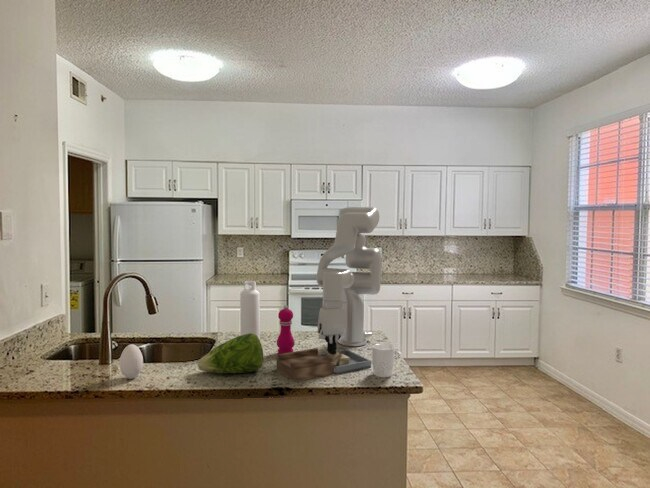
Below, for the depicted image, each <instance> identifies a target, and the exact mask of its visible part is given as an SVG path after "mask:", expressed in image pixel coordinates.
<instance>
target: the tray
mask: <svg viewBox="0 0 650 488" xmlns="http://www.w3.org/2000/svg"><path fill="white" fill-rule="evenodd" d="M336 351H337V352H339V353H340V354H344V355H346V356H348V357H349V364H345V365H341V366H339V365H337V364H336V365H334V374H335V375H340V374H344V373H349V372H354V371H359V370H364V369H368V368H372V360H371V359H368V358H366V357H364V356H362V355H360V354H357V353H356V352H354V351H352V350H349V349H342V350H336ZM318 354H319V355H321V356H323V357H326V356H327V354H328V352H324V353H318Z"/></svg>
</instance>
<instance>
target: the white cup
mask: <svg viewBox="0 0 650 488" xmlns="http://www.w3.org/2000/svg"><path fill="white" fill-rule="evenodd" d="M371 351H372V352H371V353H372V354H371V356H372V357H371V358H372V368H373V369H372V372H373V375H374V376H375V377H377V378H378V377H379V378H389V377H391V376H393V371H394V370H393V368H394V361H395V346H394V345H392V344H390V343H389V344H388V343H375V344H373V345H371Z"/></svg>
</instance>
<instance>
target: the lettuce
mask: <svg viewBox="0 0 650 488" xmlns="http://www.w3.org/2000/svg"><path fill="white" fill-rule="evenodd" d="M263 350H264V349H263V346H262V343H261V339H260V340H259V338H258V337H257V335H255V334H252V333H249V334H245V335H241V336H240V335H238V336H236V337H233V338H231V339H229V340H227V341H225V342H222V343H221V344H219V345H217V346H216V347H214V348H212V349H211V350H209V352H208V353H206V354H205V355H203V356H202V357H201V358H200V359H199V360H198V361H197V367H198V369H199V371H202V372H209V373H216V374H246V373H251V372H255V371H256V372H257V371H259V370H260V369H261V368H262V367H263V366H264V359H265V357H264V351H263Z"/></svg>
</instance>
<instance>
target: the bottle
mask: <svg viewBox="0 0 650 488" xmlns="http://www.w3.org/2000/svg"><path fill="white" fill-rule="evenodd" d="M256 285H257V283H256V281H255V280H246V281H244V285H243V288H244V290H242V291H241V292H240V294H239V295H240V298H239V299H240V301H239V303H240V304H239V305H240V311H239V313H240V315H239V316H240V317H239V318H240V330H239V331H240V332H239V333H240V335H239V336H241V335H245V334H249V333H252V334H255V335H257V337H258V338H259V340H260V341H261V338H260V337H261V336H260V335H261V333H260V332H261V330H260V328H261V327H260V326H261V325H260V324H261V322H260V319H261V317H260V316H261V315H260V311H261V310H260V307H261V306H260V305H261V302H260V301H261V298H260V297H261V293H260V292H259V291H258V290H257V289H256V288H257V286H256Z"/></svg>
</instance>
